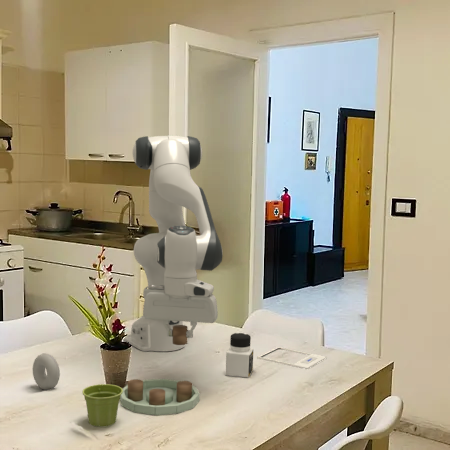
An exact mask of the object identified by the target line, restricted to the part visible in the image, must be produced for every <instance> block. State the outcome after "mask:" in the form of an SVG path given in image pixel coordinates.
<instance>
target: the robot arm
mask: <svg viewBox="0 0 450 450" xmlns="http://www.w3.org/2000/svg"><path fill="white" fill-rule="evenodd" d="M202 157H203V148H202V145H201V141H200V140H199V139H198V138H197V137H194V136H182V135H173V134H172V135H171V134H168V135H156V136H155V135H154V136H145V135H144V136H140V137H138V138H137V139H136V140H135V143H134V145H133V148H132V158H133V161H134V164H135V166H137V167H138V169H142V170H146V171H147V170H150V173H149V178H148V179H149V181H148V212H149V215H150V217H151V218H152V219H153V220H155V222H156V225H157V228H158V232H156V233H155V232H154V233H149V234H146V235H144V236H142V237H139V238H138V239H137V240H136V241H135V242H134V245H133V256H134V259H135V260H136V262H137V263H138V264H139V265H140V266H141V267H142V268H143V270H144V273H145V276H146V280H147V286H146V287H144V289H143V290H142V291H143V294H142V295H143V300H144V303H143V307H142V315H141V317H139V318H138V319H137V320H136V321H134V322H133V323H132V325H131V331H130V334H128V335H127V336H124V337H125V338H123V341H124V342H126V341H127V342H126V343H128V342H129V343H131V344H132V345H131V344H130V345H131V346H133V347H134V348H136V349H138V350H140V351H143V352H147V351H148V352H150V351H152V352H171V351H178V350H181V349H183V348H185V345H186V344H185V345H175V344H173V326H175V325H184V323H183V322H186V323H187V322H189V323H190V326H191V327H190V329H187V331H186V334H187V335H186V338H187V339H188V338H189V339H192V338H193V336H194V330H195V328H196V327H197V326H198V323H201V324H202V323H205V324H206V323H207V324H214V323H215V322H216V321H217V319H218V314H219V313H218V311H219V310H218V304H217V303H218V302H217V298H216V296H215V295H214V294H213V293H214V290H215V289H214V285H212V284H211V283H208V282H205V281H203V280H200V279H198V273H197V270H201V271H209V272H210V271H211V272H212V271H213V270H215V269H216V268H217V267H219V266H220V265H221V263H222V262H223V257H224V256H223V253H224V251H223V247H222V244H221V240H220V238H219V236H218V233H217V230H216V227H215V224H214V220H213V217H212V213H211V210H210V207H209V206H210V205H209V203H208V200H207V196H206V194H205V192H204V189H203V188H202V187H200V186H199V185H197V183H196V182H195V181H194V179H193V177H192V175H191V171H192V170H195V169H196V168H197V167H198V166H199V165H200V164H201V161H202V159H203V158H202ZM183 208H185V209H187V210H189V211H191V212H192V213H193V214H194V216H195V219H196V222H197V226H198V231H199V233H200V235H197V233H196V230H195V229H194V228H193V227H191V226H188V225H186V222H185V219H184V214H183V213H184V212H183ZM125 340H126V341H125ZM129 343H128V344H129Z"/></svg>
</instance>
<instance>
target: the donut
mask: <svg viewBox="0 0 450 450" xmlns="http://www.w3.org/2000/svg"><path fill="white" fill-rule="evenodd" d="M60 370H61V369H60V366H59V363H58V362H57V360H56V357H54V356H53V355H52V354H50V353H47V352H45V353H41V354H39V355H37V356H36V358H35V359H34V361H33V364H32V376H33V379H34V382H35V384H36V385H37V387H39V388H40V389H42V390H44V391H49V390H53V389H54V388H56V386H57V385H58V384H59V380H60V376H61V373H60Z"/></svg>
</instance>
